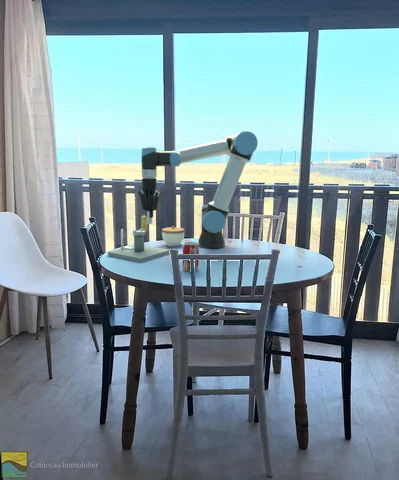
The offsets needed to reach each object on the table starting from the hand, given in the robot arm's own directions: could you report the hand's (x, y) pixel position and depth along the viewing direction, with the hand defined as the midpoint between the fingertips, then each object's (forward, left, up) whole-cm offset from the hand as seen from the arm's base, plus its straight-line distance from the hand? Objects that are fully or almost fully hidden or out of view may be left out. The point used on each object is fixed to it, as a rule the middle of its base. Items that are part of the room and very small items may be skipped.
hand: (149, 223), depth 214 cm
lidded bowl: (-1, -19, -15) cm, 24 cm away
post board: (-2, +10, -15) cm, 18 cm away
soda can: (-39, +17, -15) cm, 45 cm away
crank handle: (0, +6, -4) cm, 7 cm away
